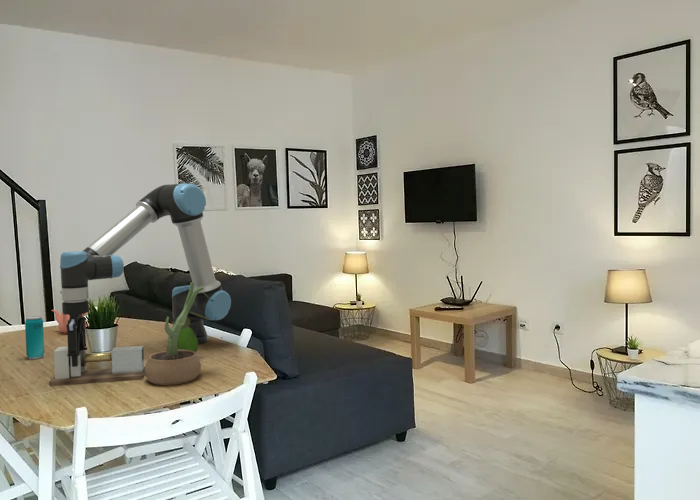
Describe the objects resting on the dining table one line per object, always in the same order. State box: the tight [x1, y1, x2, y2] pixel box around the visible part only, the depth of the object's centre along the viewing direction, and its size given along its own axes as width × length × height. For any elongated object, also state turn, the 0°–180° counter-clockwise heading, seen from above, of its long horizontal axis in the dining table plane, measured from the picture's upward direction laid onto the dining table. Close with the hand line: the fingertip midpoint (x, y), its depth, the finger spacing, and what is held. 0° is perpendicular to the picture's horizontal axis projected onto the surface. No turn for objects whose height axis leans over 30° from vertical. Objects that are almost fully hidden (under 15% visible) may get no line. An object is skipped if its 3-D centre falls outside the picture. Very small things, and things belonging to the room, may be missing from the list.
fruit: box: [177, 327, 199, 353], centre depth 203 cm, size 8×8×12 cm
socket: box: [53, 345, 71, 379], centre depth 178 cm, size 4×6×10 cm, turn 13°
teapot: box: [51, 309, 87, 335], centre depth 253 cm, size 14×14×11 cm
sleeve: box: [110, 345, 145, 375], centre depth 182 cm, size 9×5×8 cm, turn 103°
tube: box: [69, 350, 112, 367], centre depth 180 cm, size 19×5×5 cm, turn 103°
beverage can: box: [24, 315, 45, 360], centre depth 206 cm, size 6×6×15 cm
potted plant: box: [144, 282, 212, 386], centre depth 179 cm, size 22×18×30 cm
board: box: [48, 366, 146, 386], centre depth 181 cm, size 27×11×1 cm, turn 103°
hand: (78, 373), depth 179 cm, fingers closed on tube, 5 cm apart
